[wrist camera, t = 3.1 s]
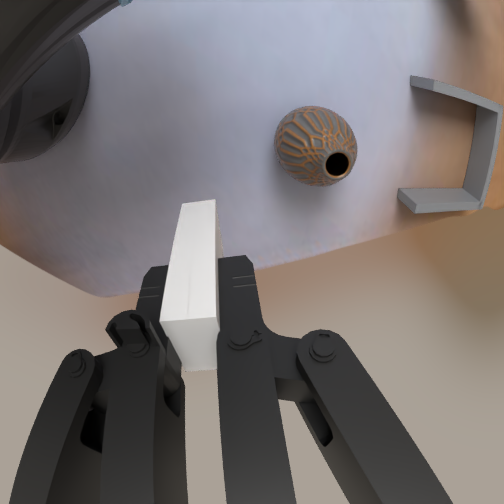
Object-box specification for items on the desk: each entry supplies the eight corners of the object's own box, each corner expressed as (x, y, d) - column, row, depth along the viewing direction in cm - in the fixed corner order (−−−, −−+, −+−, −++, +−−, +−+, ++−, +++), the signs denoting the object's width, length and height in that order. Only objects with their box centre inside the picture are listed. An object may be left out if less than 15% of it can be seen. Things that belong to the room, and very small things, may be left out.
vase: (345, 115, 24) (392, 138, 17) (322, 175, 28) (358, 216, 21) (280, 92, 22) (309, 103, 15) (260, 158, 26) (277, 197, 19)
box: (397, 197, 30) (414, 213, 27) (410, 75, 21) (433, 79, 18) (465, 195, 31) (481, 209, 27) (482, 98, 21) (503, 106, 18)
